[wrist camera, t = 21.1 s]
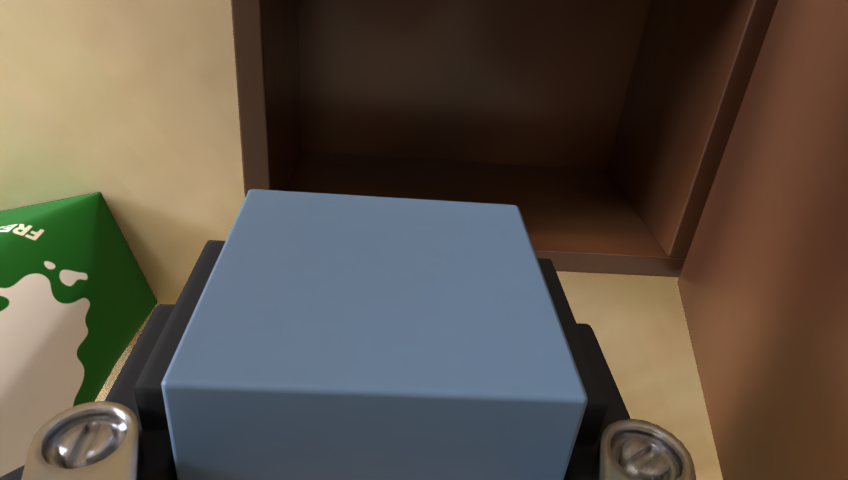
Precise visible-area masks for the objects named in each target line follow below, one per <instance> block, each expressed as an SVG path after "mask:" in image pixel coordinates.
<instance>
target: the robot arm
mask: <svg viewBox="0 0 848 480" xmlns="http://www.w3.org/2000/svg"><path fill="white" fill-rule="evenodd" d="M225 242H226V241H216V240H209V241H208V242H207V243H206V245H205V247H204V249H203V251H202V253H201V255H200V257H199V259H198V261H197V263H196V265H195V267H194V269H193V271H192V273H191V275H190V277H189V279H188V281H187V283H186V285H185V287H184V289H183V291H182V293H181V295H180V297H179V299H178V301H177V302H176V304H175V305H166V304H160V305H158V306H157V307H156V308H155V310H154V311H153V313H152V315H151V316H150V318H149V320H148V322H147V324H146V326H145V327H144V329H143V331H142V333H141V335H140V337H139V339H138V340H137V342H136V344H135V346H134V348H133V350H132V351H131V353H130V355H129V357H128V359H127V361H126V362H125V364H124V366H123V368H122V370H121V372H120V373H119V375H118V377H117V379H116V381H115V383H114V384H113V386H112V388H111V390H110V392H109V394H108V395H107V397H106V399H105V401H98V402H88V403H84V404H80V405H77V406H73V407H71V408H69V409H67V410H65V411H63V412H60V413H58V414H57V415H56V416H54V417H53V418H51V419H50V420H49V421H47V422H46V423H45V424H44V425H43V426H42V427H41V428H40V429H39V430H38V431H37V433H36V434H35V435H34V437H33V439H32V442H31V444H30V446H29V449H28V453H27V458H26V462H25V465H23V466H21V467H19V468H17V469H15V470H13V471H11V472H9V473H7V474H5V475H4V476H2V477H0V480H178V479H177V473H176V467H175V462H174V456H173V450H172V444H171V439H170V433H169V427H168V421H167V416H166V410H165V404H164V398H163V393H162V387H161V383H162V381H163V378H164V376H165V374H166V372H167V370H168V367H169V365H170V363H171V361H172V358H173V356H174V354H175V352H176V350H177V347H178V345H179V343H180V341H181V339H182V336H183V334H184V332H185V330H186V328H187V325H188V323H189V321H190V319H191V317H192V314H193V312H194V310H195V308H196V306H197V303H198V301H199V299H200V297H201V294H202V292H203V290H204V288H205V286H206V283H207V281H208V279H209V277H210V275H211V272H212V270H213V268H214V266H215V264H216V261H217V259H218V257H219V255H220V253H221V250H222V248H223V246H224V244H225ZM537 259H538V262H539V265H540V267H541V270H542V273H543V276H544V278H545V281H546V284H547V287H548V289H549V292H550V295H551V298H552V300H553V303H554V306H555V309H556V311H557V314H558V317H559V320H560V322H561V325H562V328H563V331H564V333H565V336H566V339H567V342H568V344H569V347H570V350H571V353H572V355H573V358H574V361H575V364H576V366H577V369H578V372H579V375H580V377H581V380H582V383H583V386H584V388H585V391H586V394H587V397H588V402H587V406H586V409H585V412H584V415H583V418H582V422H581V425H580V428H579V431H578V435H577V438H576V441H575V444H574V447H573V451H572V454H571V457H570V460H569V464H568V467H567V470H566V473H565V476H564V480H696V475H695V469H694V464H693V461H692V458H691V455H690V453H689V452H688V450H687V449H686V448H685V446H684V445H683V444H682V442H681V441H679V440H678V439H677V438H676V437H675V436H674V435H673V434H671V433H670V432H668V431H667V430H665V429H663V428H662V427H660V426H658V425H655V424H652V423H650V422H647V421H644V420H636V419H630V416H629V414H628V412H627V409H626V407H625V405H624V402H623V400H622V398H621V395H620V393H619V391H618V388H617V386H616V383H615V381H614V379H613V376H612V374H611V372H610V369H609V367H608V365H607V362H606V360H605V358H604V355H603V353H602V351H601V348H600V346H599V344H598V341H597V339H596V336H595V334H594V332H593V330H592V328H591V327H590V326H589V325H588V324H577V323H576V321H575V319H574V316H573V314H572V311H571V309H570V306H569V303H568V301H567V298H566V296H565V293H564V291H563V288H562V286H561V283H560V281H559V278H558V276H557V273H556V271H555V268H554V266H553V263H552V261H551V259H545V258H537Z"/></svg>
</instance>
